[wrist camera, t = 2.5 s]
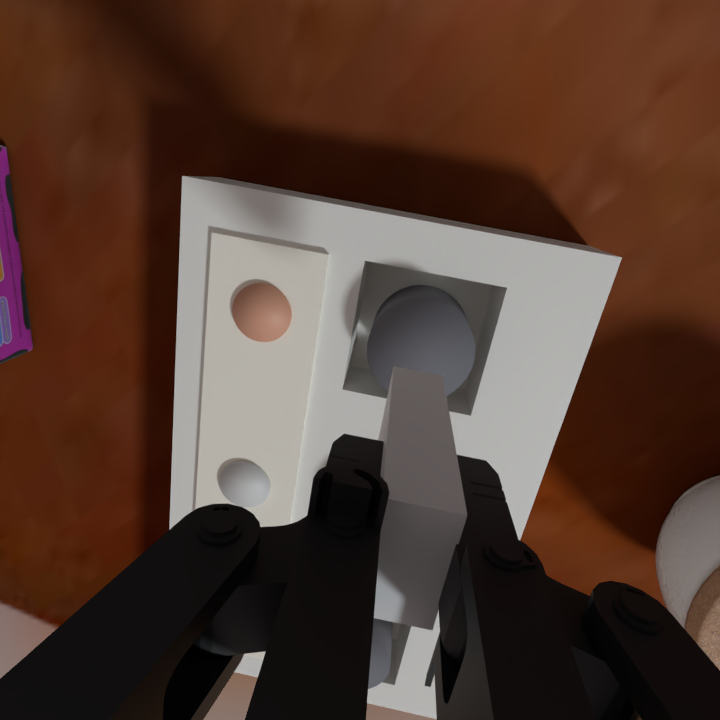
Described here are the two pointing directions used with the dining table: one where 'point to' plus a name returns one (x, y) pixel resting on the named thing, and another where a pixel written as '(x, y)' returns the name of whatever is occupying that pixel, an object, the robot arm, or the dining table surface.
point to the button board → (360, 355)
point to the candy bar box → (11, 276)
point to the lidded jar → (693, 564)
